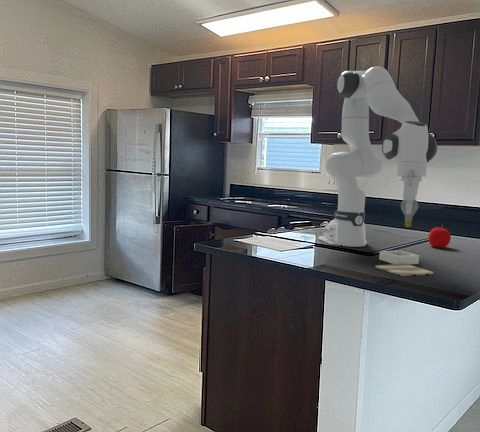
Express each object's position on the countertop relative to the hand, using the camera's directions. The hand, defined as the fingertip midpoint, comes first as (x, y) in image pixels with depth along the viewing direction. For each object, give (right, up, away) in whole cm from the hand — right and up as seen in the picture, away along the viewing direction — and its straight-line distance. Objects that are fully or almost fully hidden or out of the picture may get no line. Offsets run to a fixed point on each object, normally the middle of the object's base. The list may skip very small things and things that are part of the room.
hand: (408, 212), depth 159 cm
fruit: (+30, -15, +49) cm, 59 cm away
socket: (+1, -18, +15) cm, 23 cm away
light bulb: (0, -5, +1) cm, 5 cm away
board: (-2, -19, +1) cm, 19 cm away
